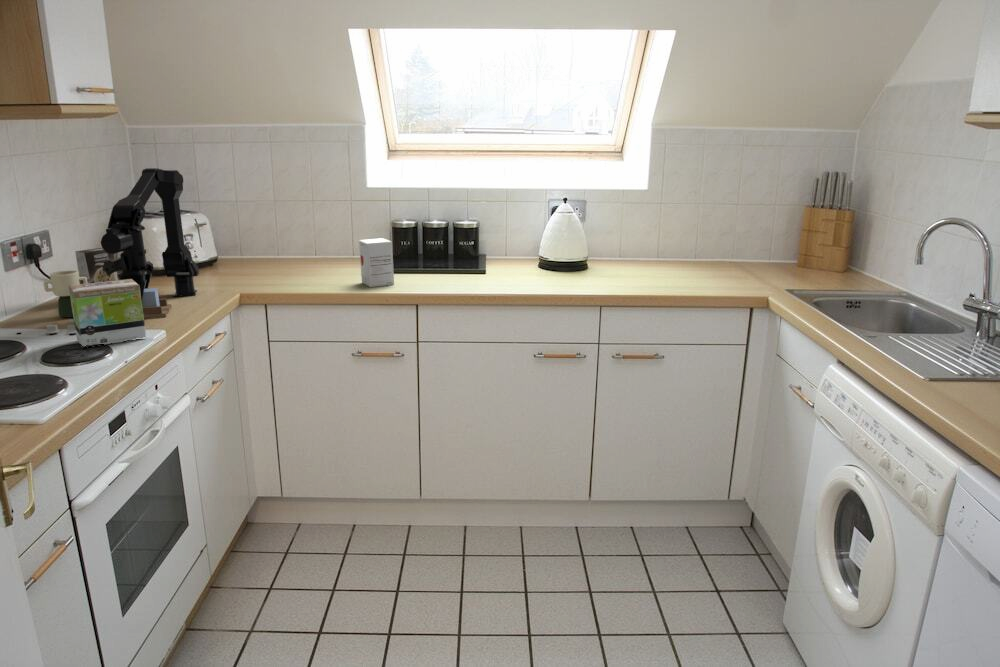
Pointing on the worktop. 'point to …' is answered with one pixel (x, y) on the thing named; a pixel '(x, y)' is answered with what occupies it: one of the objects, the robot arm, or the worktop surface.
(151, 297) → the pale blue cuboid
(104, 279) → the coffee box
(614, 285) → the worktop surface
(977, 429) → the worktop surface
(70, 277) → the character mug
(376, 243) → the supplement box
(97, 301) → the tea box
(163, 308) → the walnut rack
